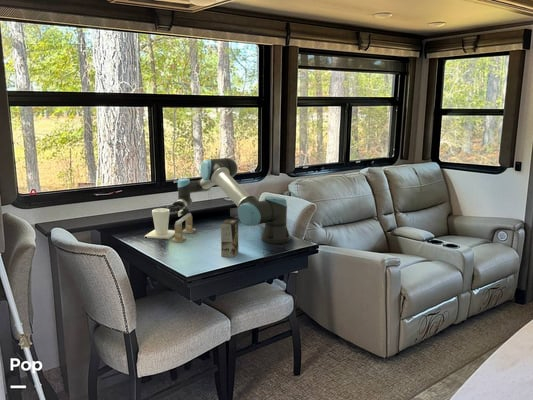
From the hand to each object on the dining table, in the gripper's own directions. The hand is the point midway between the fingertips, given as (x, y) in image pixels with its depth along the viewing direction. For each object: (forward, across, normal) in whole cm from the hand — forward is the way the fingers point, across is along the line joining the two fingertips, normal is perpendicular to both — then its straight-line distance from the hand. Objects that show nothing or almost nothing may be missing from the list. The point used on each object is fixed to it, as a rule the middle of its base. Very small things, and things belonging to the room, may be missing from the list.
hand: (167, 213), depth 261 cm
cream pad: (+10, 0, -10) cm, 14 cm away
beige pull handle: (+10, -13, -10) cm, 19 cm away
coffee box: (+37, -45, -10) cm, 59 cm away
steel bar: (+10, -13, -1) cm, 16 cm away
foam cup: (+10, 0, -9) cm, 13 cm away
